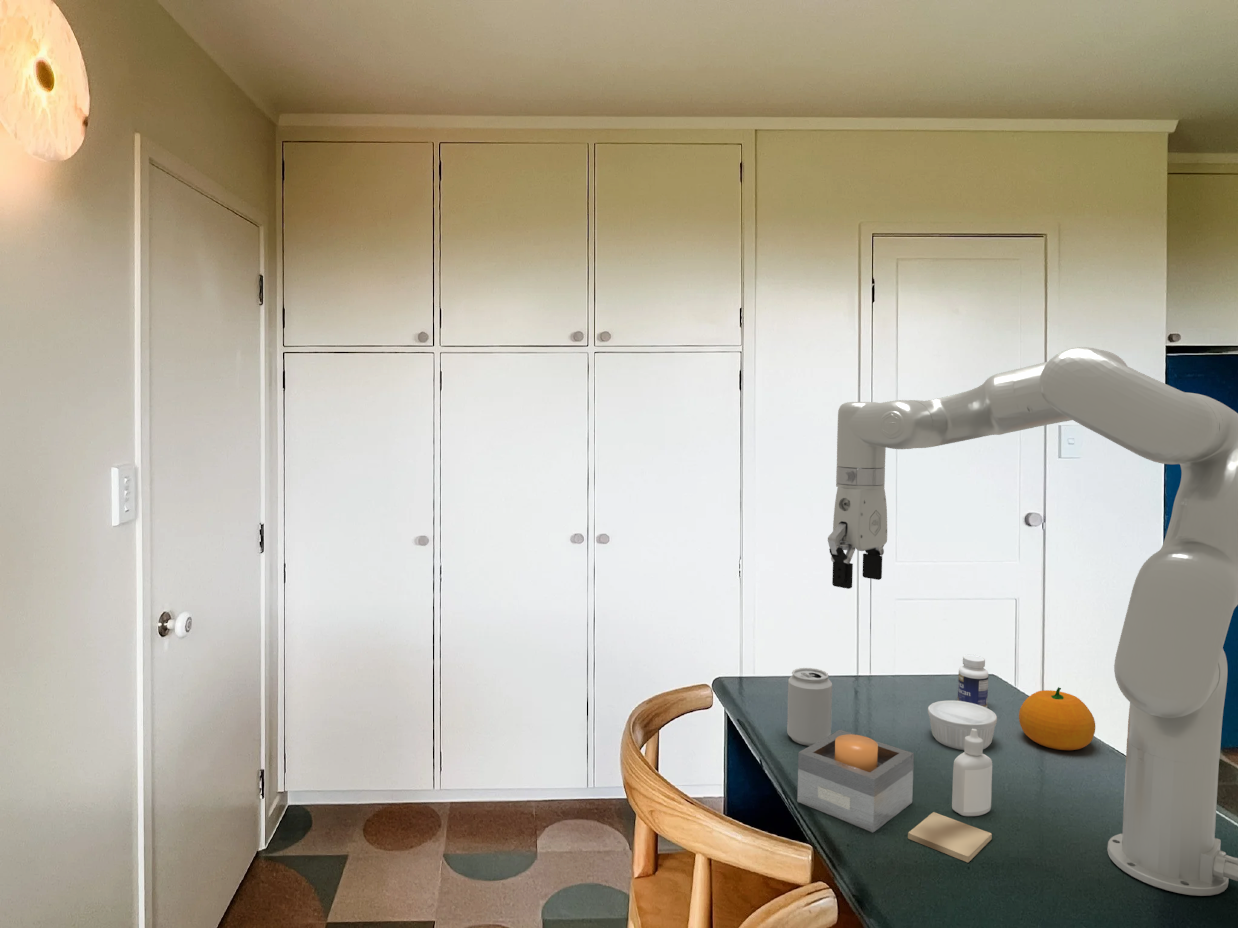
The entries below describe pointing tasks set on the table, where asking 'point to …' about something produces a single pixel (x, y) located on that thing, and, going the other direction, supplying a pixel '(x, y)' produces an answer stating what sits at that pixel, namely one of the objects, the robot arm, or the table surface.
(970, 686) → the pill bottle
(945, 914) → the table surface
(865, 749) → the button
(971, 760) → the eye dropper bottle
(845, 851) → the table surface
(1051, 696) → the fruit
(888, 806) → the grey box
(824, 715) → the can
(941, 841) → the coaster
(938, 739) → the ramekin
